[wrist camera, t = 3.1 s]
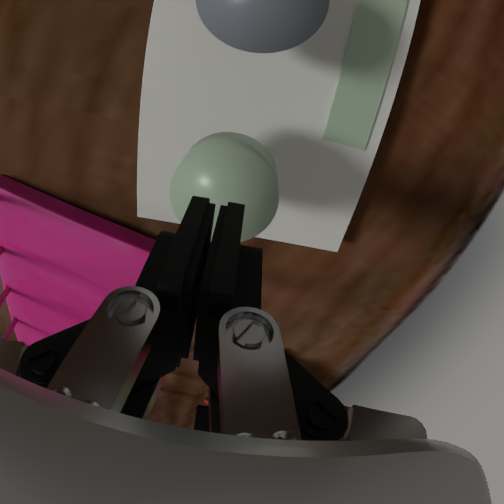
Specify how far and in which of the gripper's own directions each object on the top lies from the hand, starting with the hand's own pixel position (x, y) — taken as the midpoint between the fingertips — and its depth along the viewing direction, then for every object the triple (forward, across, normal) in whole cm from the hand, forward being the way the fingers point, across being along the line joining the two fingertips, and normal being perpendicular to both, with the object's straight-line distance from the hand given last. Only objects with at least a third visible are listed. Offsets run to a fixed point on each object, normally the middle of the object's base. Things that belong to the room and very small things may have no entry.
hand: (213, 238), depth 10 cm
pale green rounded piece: (+6, 0, 0) cm, 6 cm away
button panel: (+9, -1, -8) cm, 12 cm away
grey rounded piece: (+6, 0, -8) cm, 10 cm away
